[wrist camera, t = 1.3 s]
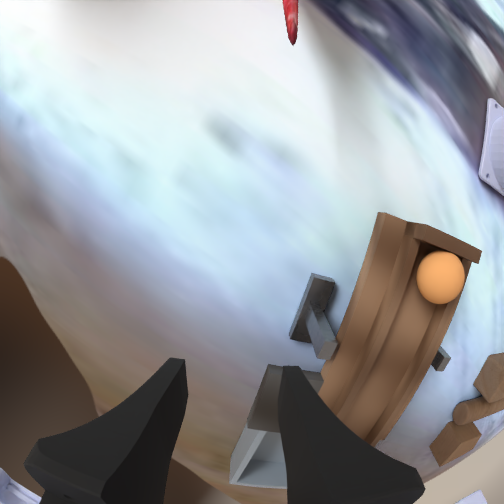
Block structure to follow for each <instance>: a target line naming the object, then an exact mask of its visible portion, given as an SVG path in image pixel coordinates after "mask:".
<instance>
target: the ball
mask: <svg viewBox="0 0 504 504" xmlns="http://www.w3.org/2000/svg"><path fill="white" fill-rule="evenodd" d="M464 279H465V273H464V268H463V265H462V263H461V261H460V260H459V258H458V257H457V256H456V255H454V254H453V253H451V252H449V251H446V250H437V251H434V252H431V253H429V254H428V255H427V256H426V257H424V259H423V260H422V261H421V263H420V265H419V267H418V270H417V276H416V280H417V286H418V289H419V291H420V293H421V294H422V296H423V297H424V298H425V299H427V300H428V301H430V302H432V303H435V304H445V303H448V302H450V301H452V300H453V299H455V298H456V297H457V296H458V294H459V293H460V291H461V290H462V287H463V285H464Z"/></svg>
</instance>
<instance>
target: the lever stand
mask: <svg viewBox="0 0 504 504" xmlns="http://www.w3.org/2000/svg"><path fill="white" fill-rule="evenodd" d="M334 285H335V281H334V280H333V279H332V278H329V277H325V276H321V275H317V274H313V273H311V276H310V279H309V282H308V284H307V287H306V290H305V293H304V295H303V298H302V301H301V303H300V306H299V309H298V311H297V314H296V316H295V319H294V322H293V324H292V327H291V329H290V332H289V336H290V339H292V340H297V341H302V342H307V343H311V341H312V344H313V347H314V350H315V353H316V357H317V358H319V359H325V360H330V358H331V356H332V354H333V352H334V350H335V348H336V346H337V344H338V342H337V340H336V338H335V336H334V334H333V332H332V329H331V327H330V325H329V323H328V321H327V319H326V317H325V314H324V310H325V308H326V305H327V303H328V300H329V298H330V295H331V293H332V290H333V288H334ZM450 359H451V357H450V356H449V355H448V354H447V353H446V352H445V351H444V349H443V348H442V347H441V346H440V347H439V349H438V351H437V353H436V355H435V357H434V359H433V361H432V363H431V365H432V366H433V367H434V369H435V370H436V371H444V369H445V367H446V366H447V364H448V362H449V361H450Z"/></svg>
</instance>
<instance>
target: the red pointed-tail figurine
mask: <svg viewBox="0 0 504 504" xmlns="http://www.w3.org/2000/svg"><path fill="white" fill-rule="evenodd" d="M283 7H284V14H285V20H286V26H287V33H288V38H289V40H290V42H291V44H292V45H294V44H295V42H296V39H297V31H298V27H297V26H298V0H283Z"/></svg>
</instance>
